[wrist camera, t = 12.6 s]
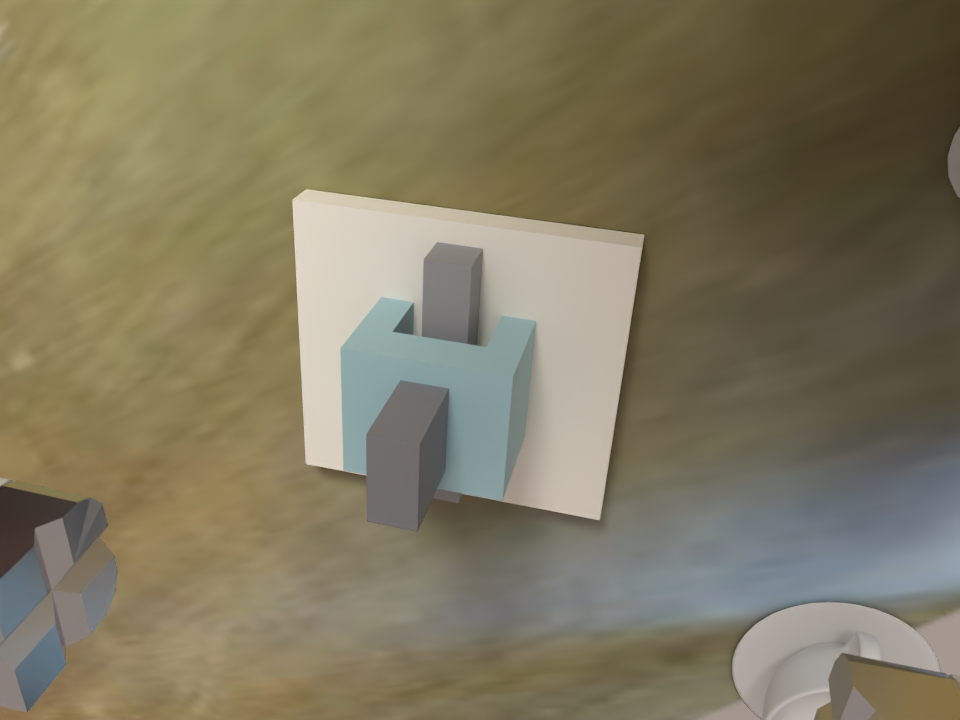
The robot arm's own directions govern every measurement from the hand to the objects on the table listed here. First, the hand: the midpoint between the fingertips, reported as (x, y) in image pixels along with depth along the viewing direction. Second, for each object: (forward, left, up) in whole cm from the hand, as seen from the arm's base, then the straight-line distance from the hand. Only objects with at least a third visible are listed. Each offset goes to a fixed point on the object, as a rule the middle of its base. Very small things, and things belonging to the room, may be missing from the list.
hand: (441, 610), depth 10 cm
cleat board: (+13, -6, -29) cm, 32 cm away
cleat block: (+13, -6, -27) cm, 31 cm away
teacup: (+28, +14, -29) cm, 43 cm away
